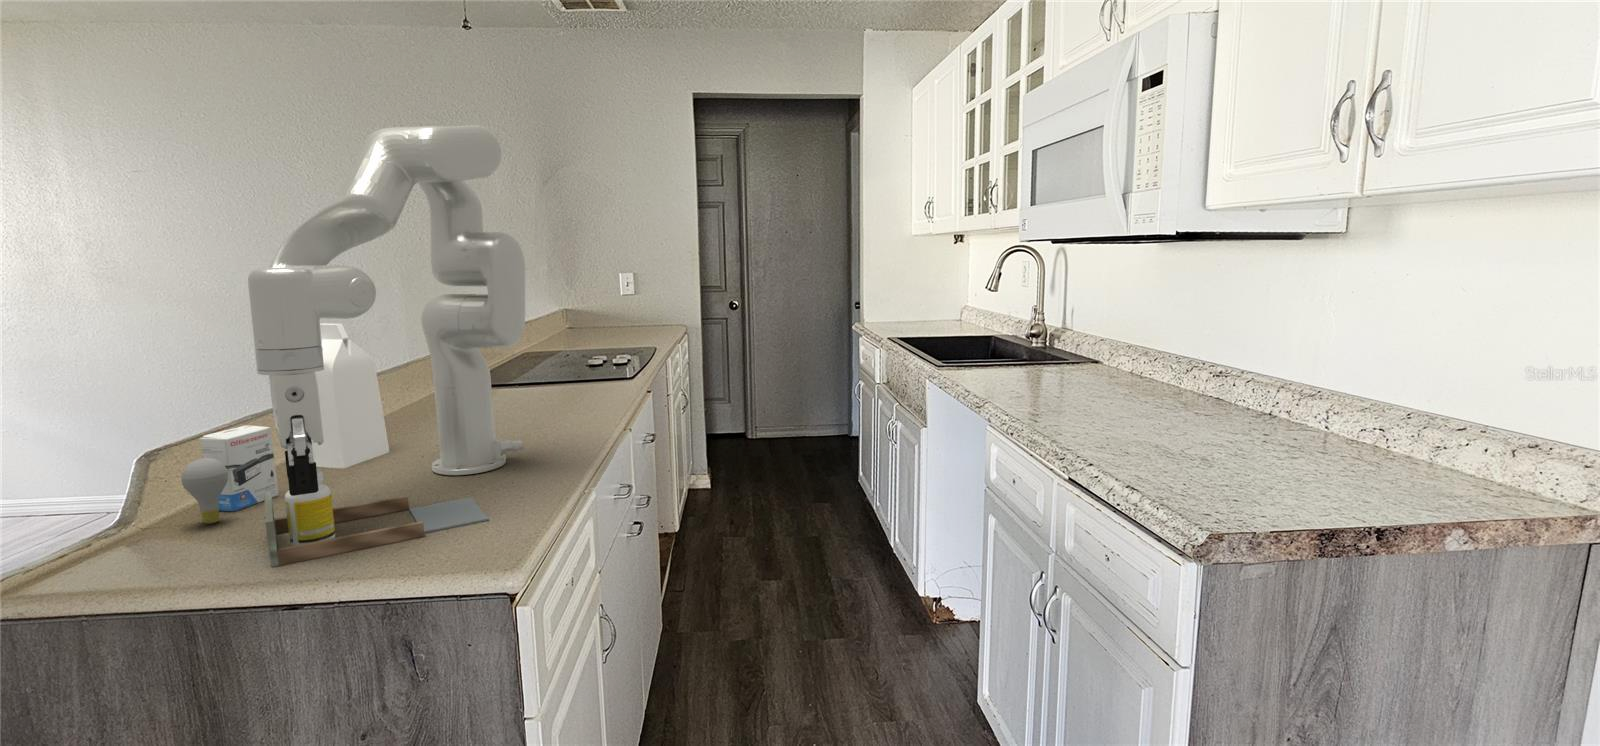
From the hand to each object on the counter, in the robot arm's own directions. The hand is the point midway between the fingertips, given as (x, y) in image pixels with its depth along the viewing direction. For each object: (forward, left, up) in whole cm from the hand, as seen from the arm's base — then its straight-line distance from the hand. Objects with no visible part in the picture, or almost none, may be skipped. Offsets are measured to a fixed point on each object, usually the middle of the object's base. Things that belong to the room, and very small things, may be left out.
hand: (302, 485), depth 107 cm
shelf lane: (-4, 0, -8) cm, 9 cm away
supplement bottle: (0, 0, -9) cm, 9 cm away
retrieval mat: (-18, -1, -8) cm, 20 cm away
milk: (-7, -47, -9) cm, 49 cm away
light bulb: (+12, -18, -9) cm, 23 cm away
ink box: (+8, -26, -9) cm, 29 cm away
